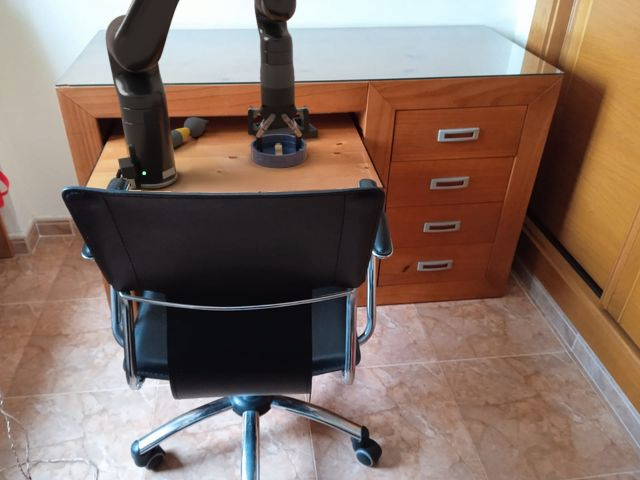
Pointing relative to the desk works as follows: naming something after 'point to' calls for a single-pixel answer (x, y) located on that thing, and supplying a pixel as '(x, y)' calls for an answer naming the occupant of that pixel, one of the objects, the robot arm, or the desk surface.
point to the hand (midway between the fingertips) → (279, 150)
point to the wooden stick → (278, 149)
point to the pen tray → (288, 130)
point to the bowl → (278, 161)
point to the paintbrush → (188, 130)
